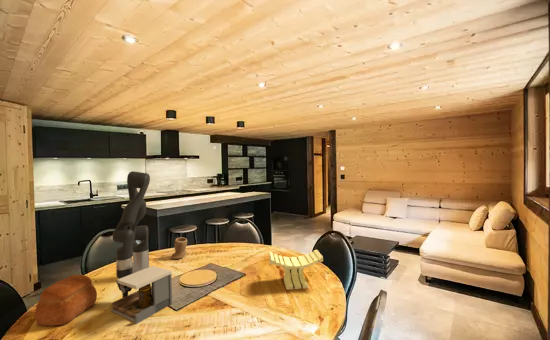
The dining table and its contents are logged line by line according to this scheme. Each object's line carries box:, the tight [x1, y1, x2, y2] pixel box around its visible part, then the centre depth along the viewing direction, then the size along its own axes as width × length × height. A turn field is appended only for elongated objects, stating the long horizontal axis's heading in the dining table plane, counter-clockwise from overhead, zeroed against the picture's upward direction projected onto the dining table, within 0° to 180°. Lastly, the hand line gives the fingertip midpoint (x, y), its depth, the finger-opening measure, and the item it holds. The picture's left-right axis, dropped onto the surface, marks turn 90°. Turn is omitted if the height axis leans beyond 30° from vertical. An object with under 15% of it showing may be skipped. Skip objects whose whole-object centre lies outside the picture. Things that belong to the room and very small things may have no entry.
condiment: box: [132, 283, 154, 313], centre depth 134 cm, size 7×8×12 cm
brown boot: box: [170, 236, 188, 260], centre depth 207 cm, size 15×12×15 cm
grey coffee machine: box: [110, 265, 173, 325], centre depth 132 cm, size 22×19×18 cm
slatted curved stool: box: [268, 249, 324, 290], centre depth 157 cm, size 30×16×18 cm, turn 96°
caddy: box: [111, 290, 154, 318], centre depth 133 cm, size 20×16×4 cm
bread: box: [34, 274, 98, 327], centre depth 128 cm, size 18×22×17 cm
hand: (125, 298), depth 139 cm, fingers closed
